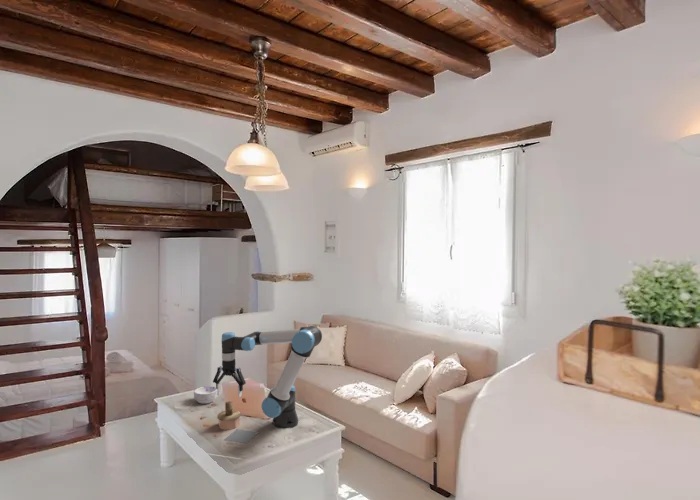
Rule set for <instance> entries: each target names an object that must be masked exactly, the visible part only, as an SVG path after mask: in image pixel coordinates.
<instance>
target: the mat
mask: <svg viewBox="0 0 700 500" xmlns="http://www.w3.org/2000/svg"><path fill="white" fill-rule="evenodd" d="M259 432H260V431H254V430H247V429H240V428H235V430H234V431H233V432H231V433H230V434H229V435H228V436H226V437H225V438H224V439H223V441H228V442H234V443H240V444H248V443H249V442H250V441H251V440H252V439H253V438H254V437H255V436H256V435H258V434H259Z"/></svg>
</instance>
